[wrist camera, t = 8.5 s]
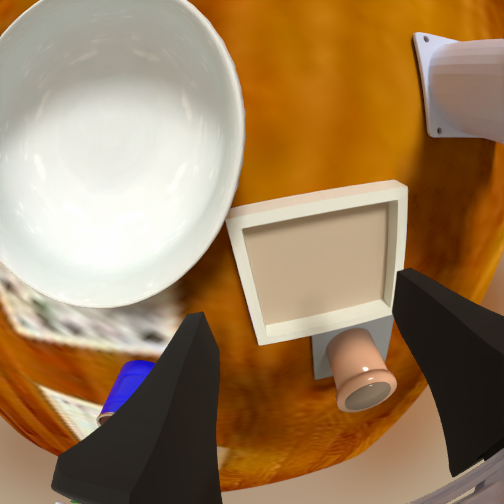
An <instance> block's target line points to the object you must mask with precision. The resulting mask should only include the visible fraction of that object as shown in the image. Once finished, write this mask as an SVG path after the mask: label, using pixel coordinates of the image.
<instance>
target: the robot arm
mask: <svg viewBox="0 0 504 504" xmlns="http://www.w3.org/2000/svg"><path fill="white" fill-rule="evenodd" d="M424 38H425V39H426V42H425V41H424ZM413 40H414V44H415V49H416V53H417V58H418V63H419V69H420V74H421V81H422V87H423V95H424V103H425V112H426V123H427V132H428V135H429V136H431V137H435V138H438V137H474V138H486V139H489V140H492V141H495V142H498V143H502V144H504V39H488V40H475V41H465V42H459V41H456V40H452V39H448V38H444V37H440V36H435V35H431V34H426V33H421V32H417V33H414V34H413ZM438 128H439V132H438V133H437V129H438ZM392 314H393V317H394V319H395V322H396V324H397V326H398V329H399V331H400V333H401V335H402V337H403V339H404V340H405V342H406V344H407V345H408V347H409V349H410V351H411V352H412V354H413V356H414V358H415V359H416V361H417V363H418V365H419V367H420V368H421V370H422V372H423V374H424V376H425V378H426V380H427V382H428V384H429V387H430V389H431V392H432V395H433V397H434V400H435V403H436V406H437V409H438V412H439V416H440V419H441V423H442V427H443V431H444V436H445V440H446V446H447V453H448V459H449V469H450V472H451V475H452V477H455V476H457V475H459V474H460V473H462V472H464V471H465V470H467V469H469V468H470V467H472V466H473V465H475V464H476V463H478V462H480V461H481V460H483V459H484V461H485V462H484V463H482V464H481V465H479V466H478V467H476V468H475V469H473V470H472V471H470V472H468V473H467V474H465V475H463V476H462V477H460V478H458V479H457V480H455V481H453V482H451V483H449V484H447V485H446V486H444V487H442V488H440V489H438V490H436V491H434V492H432V493H430V494H428V495H426V496H424V497H421V498H419V499H417V500H415V501H412V502H410V503H408V504H446V503H448V502H449V501H451V500H453V499H455V498H456V497H458V496H460V495H462V494H463V493H465V492H467V491H468V490H470V489H472V488H473V487H475V486H476V485H477V486H476V487H475V491H474V492H473V493H472V494H470V495H468V496H466V497H464V498H462V499H460V500H458V501H456V502H454V503H453V504H504V316H502V315H500V314H497V313H495V312H492V311H490V310H488V309H486V308H484V307H482V306H480V305H478V304H476V303H474V302H472V301H470V300H468V299H466V298H464V297H462V296H460V295H459V294H457V293H455V292H453V291H452V290H450V289H448V288H446V287H445V286H443V285H441V284H439V283H438V282H436V281H434V280H432V279H431V278H429V277H427V276H425V275H423V274H422V273H420V272H418V271H416V270H414V269H412V268H407V269H404V270H400V271H397V274H396V283H395V292H394V299H393V306H392ZM219 381H220V361H219V349H218V346H217V344H216V342H215V339H214V337H213V334H212V332H211V330H210V327H209V325H208V322H207V320H206V317H205V315H204V312H199V313H193V314H187V316H186V317H185V319H184V320H183V322H182V323H181V325H180V327H179V328H178V330H177V331H176V333H175V335H174V336H173V338H172V340H171V341H170V343H169V344H168V346H167V347H166V349H165V350H164V352H163V354H162V355H161V357H160V358H159V360H158V361H157V363H156V364H155V365H154V367H153V368H152V370H151V371H150V372H149V374H148V375H147V377H146V378H145V379H144V381H143V382H142V383H141V384H140V386H139V387H138V388H137V389H136V391H135V392H134V393H133V394H132V395H131V396H130V397H129V399H128V400H127V401H126V402H125V403H124V404H123V405H122V406H121V407H120V408H119V409H118V410H117V411H116V412H115V413H114V414H113V415H112V416H111V417H110V418H109V419H108V420H107V421H106V422H104V423H103V424H102V425H101V426H100V427H99V428H97V429H96V430H95V431H94V432H92V433H91V434H90V435H89V436H87V437H86V438H85V439H83V440H82V441H81V442H79V443H78V444H76V445H75V446H73V447H72V448H70V449H68V450H67V451H65V452H64V453H62V454H60V455H59V456H58V460H57V464H56V468H55V472H54V475H53V480H52V484H51V488H52V489H53V490H54V491H56V492H57V493H59V494H61V495H63V496H65V497H67V498H69V499H72V500H74V501H76V502H78V503H81V504H223V503H222V497H221V490H220V481H219V472H218V461H217V445H216V420H217V407H218V394H219ZM56 504H64V503H62V502H60V501H56Z"/></svg>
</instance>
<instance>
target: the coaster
mask: <svg viewBox="0 0 504 504" xmlns="http://www.w3.org/2000/svg"><path fill="white" fill-rule="evenodd" d="M393 320H394V317H393V314H392V315H389V316H385V317H382V318H378V319H375V320H371V321H368V322H364V323H360V324H357V325H353V326H349V327H345V328H341V329H337V330H333V331H329V332H324V333H320V334H315V335H311V342H312V355H313V369H314V378H315V380H318V379H322V378H326V377H330V376H333V374H332V371H331V367H330V364H329V360H328V357H327V354H326V348H327V345H328V343H329V342H330V341H331V340H332V339H333V338H334V337H335V336H336V335H338V334H339V333H341V332H343V331H345V330H348V329H352V328H363V329H366V330H368V331H369V332H370V333H371V336H372V338H373V340H374V342H375V344H376V346H377V348H378V350H379V353H380V355H381V357H382V359H383V361H385V360H386V355H387V351H388V346H389V341H390V337H391V331H392V326H393Z"/></svg>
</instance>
